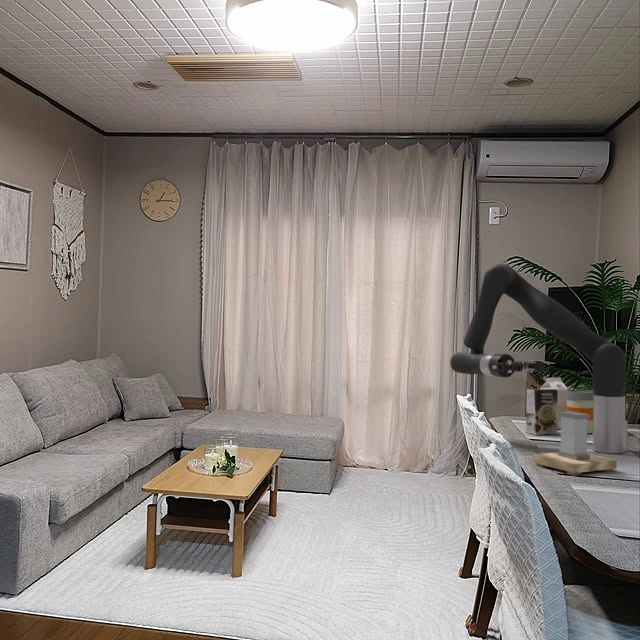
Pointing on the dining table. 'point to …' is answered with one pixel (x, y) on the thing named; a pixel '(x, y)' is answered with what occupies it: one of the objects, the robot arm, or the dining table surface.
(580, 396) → the reusable coffee cup
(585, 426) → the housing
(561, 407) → the milk carton
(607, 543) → the dining table surface
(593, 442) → the robot arm
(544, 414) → the coffee box
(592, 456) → the birch stand
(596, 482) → the dining table surface
